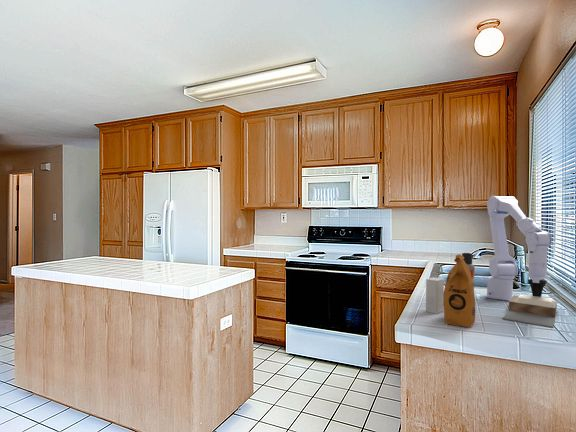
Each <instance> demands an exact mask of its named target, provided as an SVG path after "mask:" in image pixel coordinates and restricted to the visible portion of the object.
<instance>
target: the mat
mask: <svg viewBox="0 0 576 432" xmlns="http://www.w3.org/2000/svg"><path fill="white" fill-rule="evenodd" d="M502 320H506V321H510V320H511V321H512V322H517V323H524V324H529V325H535V326H539V325H540V326H541V327H544V328H545V327H546V328H551V327H552V329H553V328H554V325H555V321H556V316H555V317H550V316H544V315H538V314H532V313H525V312H519V311H513V310H509V309H508V310H507V312H506V313H505V314H504V316H503V317H502ZM540 326H539V327H540Z"/></svg>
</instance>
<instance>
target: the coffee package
mask: <svg viewBox="0 0 576 432" xmlns="http://www.w3.org/2000/svg"><path fill="white" fill-rule="evenodd" d="M463 259H464V257H463V256H462V254H457V255H456V254H455V258H454V260H453V261H454V262H455V264H454V265H453V266H452V268H451V269H450V270H449V272H448V274H447V277H446V280H445V283H444V296H443V304H444V306H443V319H444V321H445V323H446V324H447V325H452V326H455V327H463V328H468V327H471V328H472V326H473V325H474V323H475V321H476V295H475V286H474V287H473V282H472V278H471V272H470V270H469V268H468V266H467V265H466V263H465V261H464V260H463Z"/></svg>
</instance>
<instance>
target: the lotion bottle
mask: <svg viewBox="0 0 576 432" xmlns="http://www.w3.org/2000/svg"><path fill="white" fill-rule="evenodd" d="M461 256H463V257H464V259H463V260H464V261H465V263H466V265H467V266H468V268H469V270H470V272H471V278H472V282H473V287H474V288H475V268H476V267H475V264H473V253H471V252H462V253H461Z"/></svg>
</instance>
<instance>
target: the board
mask: <svg viewBox="0 0 576 432" xmlns="http://www.w3.org/2000/svg"><path fill="white" fill-rule="evenodd" d="M519 296H520V295H512V298H511V300H510V301H508V310H513V311H519V312H525V313H532V314H538V315H544V316H550V317H555V318H556V316H557V311H558V310H557V306H558V303H557V302H558V301H556V300H552V307H551V308H550V307H543V306H537V305H530V304H523V303H518V297H519Z"/></svg>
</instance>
